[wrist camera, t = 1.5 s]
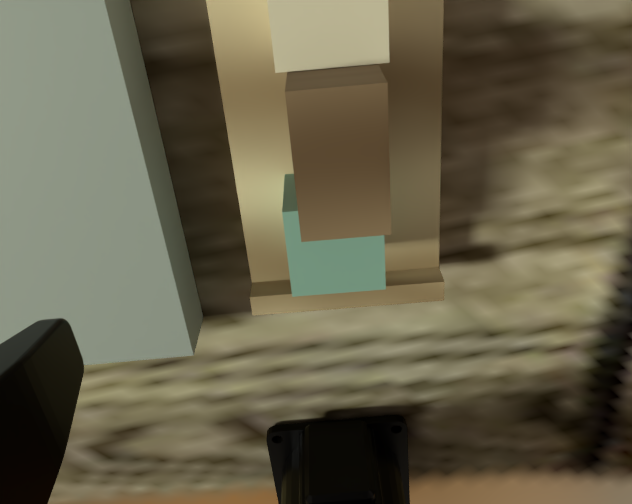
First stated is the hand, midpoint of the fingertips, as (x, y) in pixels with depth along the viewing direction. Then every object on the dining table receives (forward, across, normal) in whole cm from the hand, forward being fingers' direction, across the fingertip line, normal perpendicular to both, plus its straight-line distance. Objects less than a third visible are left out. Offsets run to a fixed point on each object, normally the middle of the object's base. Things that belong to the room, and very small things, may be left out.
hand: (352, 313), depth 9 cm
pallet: (+13, 0, 0) cm, 13 cm away
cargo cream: (+11, 0, -4) cm, 12 cm away
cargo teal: (+11, 0, +4) cm, 12 cm away
